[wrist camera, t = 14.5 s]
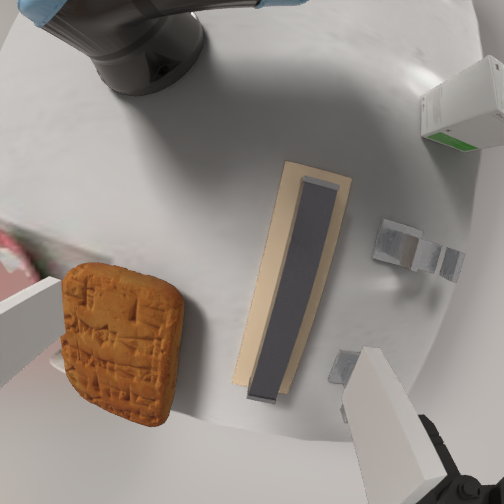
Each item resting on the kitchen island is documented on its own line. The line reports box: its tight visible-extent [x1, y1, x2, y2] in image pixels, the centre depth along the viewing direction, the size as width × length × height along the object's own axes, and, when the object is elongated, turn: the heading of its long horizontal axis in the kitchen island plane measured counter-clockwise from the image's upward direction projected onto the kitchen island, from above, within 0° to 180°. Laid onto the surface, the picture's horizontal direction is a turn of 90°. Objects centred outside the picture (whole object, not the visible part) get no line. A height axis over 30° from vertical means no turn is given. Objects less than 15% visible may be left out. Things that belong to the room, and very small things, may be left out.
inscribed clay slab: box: [61, 262, 184, 427], centre depth 34 cm, size 22×17×8 cm
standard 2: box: [371, 218, 465, 283], centre depth 28 cm, size 5×6×10 cm
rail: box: [247, 176, 340, 404], centre depth 32 cm, size 27×4×4 cm, turn 167°
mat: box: [232, 161, 352, 394], centre depth 35 cm, size 30×8×1 cm, turn 167°
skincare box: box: [421, 55, 504, 152], centre depth 22 cm, size 8×7×16 cm
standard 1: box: [328, 350, 360, 423], centre depth 31 cm, size 5×6×10 cm
